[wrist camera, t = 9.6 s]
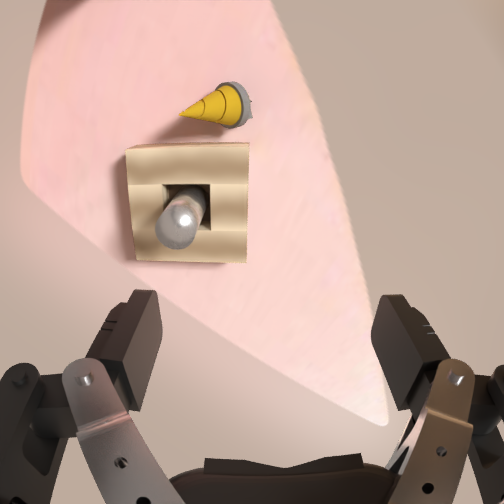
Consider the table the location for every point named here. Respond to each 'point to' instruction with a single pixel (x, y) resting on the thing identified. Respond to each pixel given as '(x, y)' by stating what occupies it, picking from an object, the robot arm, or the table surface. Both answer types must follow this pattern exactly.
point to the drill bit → (223, 106)
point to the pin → (182, 217)
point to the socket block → (177, 176)
